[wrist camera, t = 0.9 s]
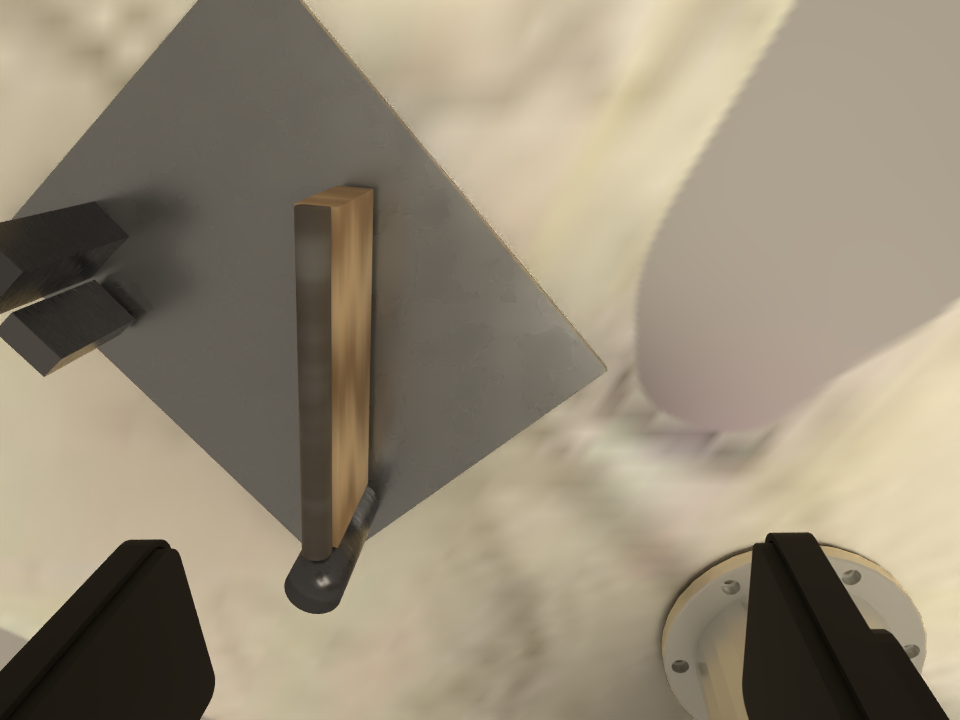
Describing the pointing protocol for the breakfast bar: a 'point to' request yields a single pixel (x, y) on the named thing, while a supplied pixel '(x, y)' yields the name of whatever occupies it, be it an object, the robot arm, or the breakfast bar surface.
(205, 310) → the gate frame
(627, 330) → the breakfast bar surface
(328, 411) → the gate
